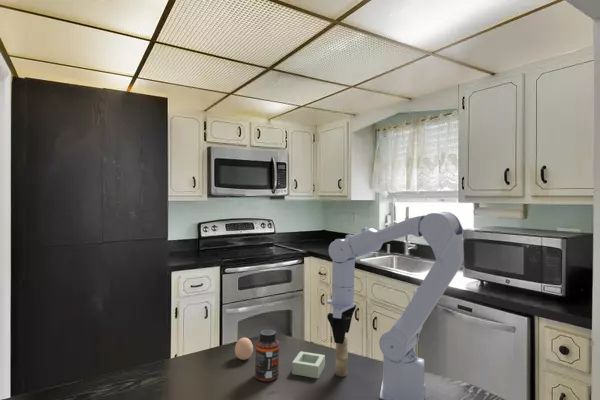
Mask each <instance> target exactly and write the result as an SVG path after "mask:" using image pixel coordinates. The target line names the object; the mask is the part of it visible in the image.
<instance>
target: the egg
mask: <svg viewBox="0 0 600 400" xmlns="http://www.w3.org/2000/svg"><path fill="white" fill-rule="evenodd" d="M234 353H235V356H236V357H237V359H239V360H242V361H243V360H244V361H245V360H248V359H249V358H250V357H251V356H252V355H253V353H254V345H253V343H252V341H251V340H250V339H249V338H248V337H241V338H239V339H238V340H237V342H236V344H235V346H234Z"/></svg>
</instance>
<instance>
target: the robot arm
mask: <svg viewBox="0 0 600 400" xmlns="http://www.w3.org/2000/svg"><path fill="white" fill-rule="evenodd" d="M360 230H361V231H360V232H356V233H354V234H351V233H350V234H346V235H345V238H336V239H335V240H334V241H331V243H330V244H329V246H328V255H329V257H330V259H331V260H332V262H331V263H332V267H331V268H332V270H331V271H332V272H331V274H332V275H331V277H332V278H331V299H329V298H328V299H327V301H326V302H327V305H331V308H332V313H331V312H328V313H327V317H326V318H327V320H328V322H329V324H330V327H331V330H332V337H333V341H334V342H333V343H335V344H336V343H339V344H343V342H344V339H345V337H346V334H348V333H349V331H350V328H351V324H352V318H353V315H354V312H355V310H356V308H357V304H355V267H356V266H355V264H356V259H357V258H360V257H362V256H366V255H368V254H372V253H375V252H378V251H380V250H381V249H382V246H383V244H385V243H388V242H392V241H395V240H398V239H401V238H404V237H407V236H413V237H417V238H420V237H423V239H424V241H426V243H427V244H428V245H429V246H430V248H431V250H432V252H433V255H434V257H435V261H434V262H433V264H432V266H431V268H430V269H429V271H428V273H427V274H426V276H425V277H424V279H423V280H422V282H421V284H420V285H419V287H418V288H417V290H416V292H415V294H414V295H413V296H412V298H411V300H410V302H409V303H408V305H407V306H406V307H405V309H404V311H403V313H402V314H401V315H400V316H399V318H398V319H397V320H396V322H395V323H394V324H393V325H392V326H391V328H390V329H389V330H388V331H387V332H384V333H383V334H381V336H380V338H379V340H378V341H379V342H378V344H379V349H380V351H381V353H382V354H383V358H382V359H383V360H382V361H383V362H382V363H383V364H382V366H383V367H382V380H381V387H380V393H379V398H380V400H425V394H426V384H425V359H424V358H421V357H418V356H416V352H415V347H416V346H418V344H419V340H420V333H421V331H422V329H423V328H424V327H423V325H424V324H425V322H426V321H427V319H428V318H429V316H430V315H431V313H432V312H433V310H434V308H435V307H436V305H437V304H438V302H439V301H440V299H441V297H442V296H443V295H444V293H445V292H446V290H447V289H448V287H449V286H450V284H451V282H452V281H453V279H454V277H455V276H456V275H457V273H458V272H459V270H460V268H461V267H462V265H463V263H464V260H465V259H464V257H465V255H464V233H465V231H464V228H463V226H462V224H461V221H460V220H459V218H458V217H457V216H456V215H455V214H454V213H452V212H447V211H441V212H431V213H427V214H426V215H425V214H424V215H418V216H414V217H410V218H407V219H405V220H402V221H399V222H397V223H395V224H392V225H389V226H387V227H385V228H382V229H380V230H377V229H375V228H372V227H371V228H368V227H363V228H361V229H360Z"/></svg>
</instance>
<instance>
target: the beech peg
mask: <svg viewBox="0 0 600 400" xmlns="http://www.w3.org/2000/svg"><path fill="white" fill-rule="evenodd" d="M348 345H349V339H348V338H347V337H346V336H345V339H344V342H343V344H339V343H335V375H336V376H338V377H346V376H347V375H348V354H349V353H348V349H349V348H348V347H349V346H348Z"/></svg>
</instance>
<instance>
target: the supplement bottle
mask: <svg viewBox="0 0 600 400" xmlns="http://www.w3.org/2000/svg"><path fill="white" fill-rule="evenodd" d="M254 365H255V366H254V367H255V369H254V370H255V371H254V373H255V374H254V376H255V378H256V379H257V380H259V381H260V382H272V381H275V380H276V379H277V378H278V377H279V372H280V340H278V339H277V331H276V330H273V329H264V330H261V331H260V332H259V339H257V341H256V342H255V364H254Z"/></svg>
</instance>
